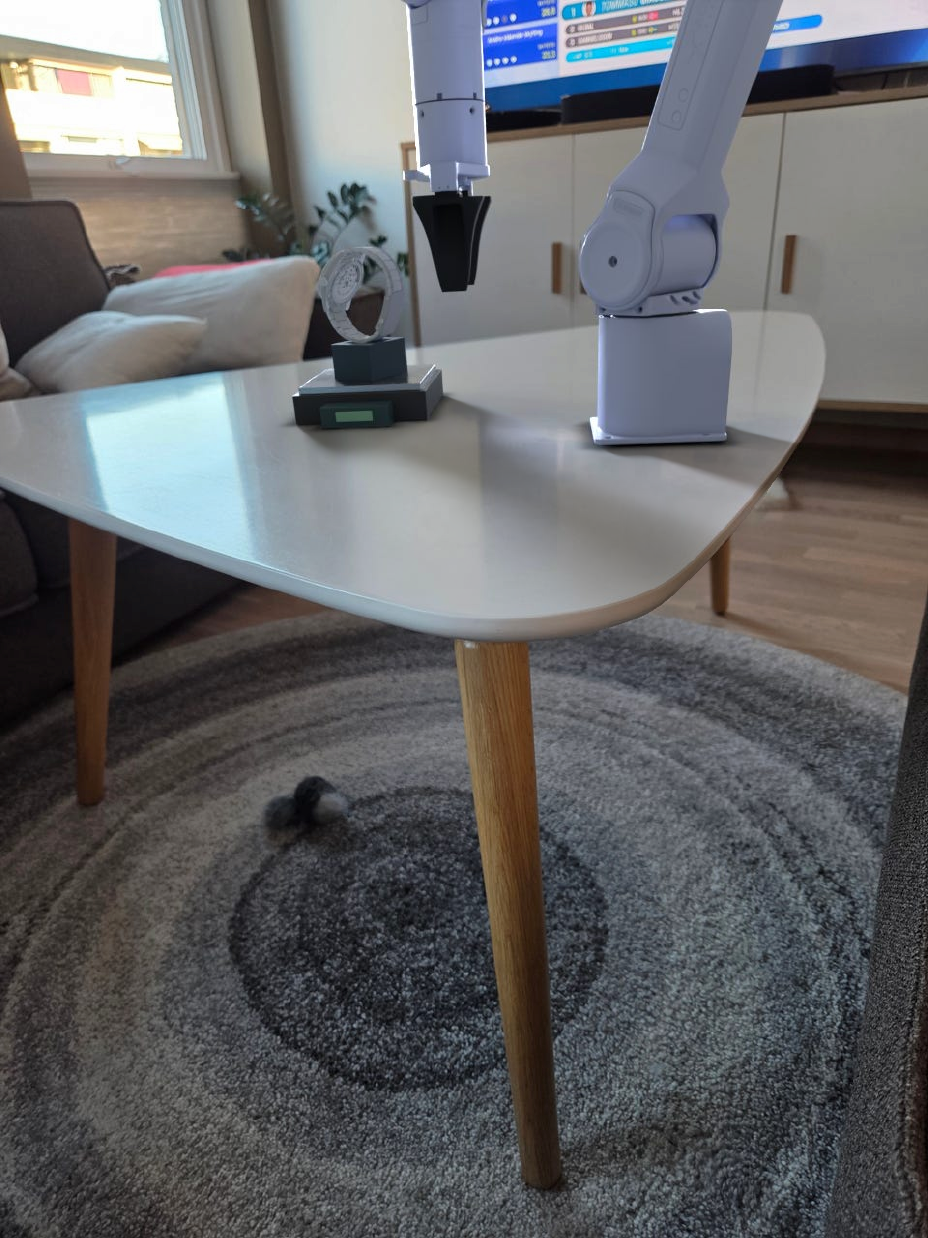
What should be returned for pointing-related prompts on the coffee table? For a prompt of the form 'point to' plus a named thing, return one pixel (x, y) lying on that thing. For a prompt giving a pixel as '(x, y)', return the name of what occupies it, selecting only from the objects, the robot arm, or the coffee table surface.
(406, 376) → the scale pan
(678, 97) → the robot arm
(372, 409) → the scale
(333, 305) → the watch
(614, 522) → the coffee table surface
